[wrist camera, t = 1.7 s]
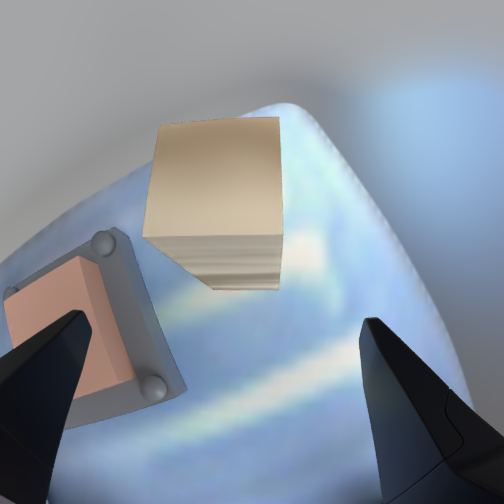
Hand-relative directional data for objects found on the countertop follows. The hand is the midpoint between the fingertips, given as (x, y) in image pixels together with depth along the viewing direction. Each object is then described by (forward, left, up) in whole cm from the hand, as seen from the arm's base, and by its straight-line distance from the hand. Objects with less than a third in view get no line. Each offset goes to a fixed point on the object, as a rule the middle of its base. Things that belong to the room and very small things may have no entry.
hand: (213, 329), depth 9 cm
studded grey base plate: (-5, +11, -11) cm, 17 cm away
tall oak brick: (+5, +2, -12) cm, 13 cm away
